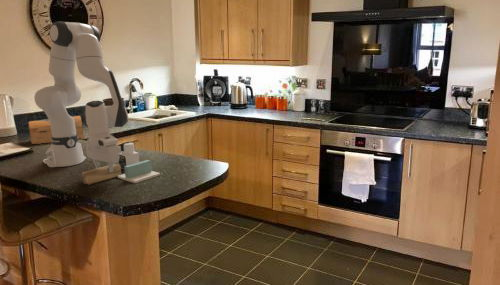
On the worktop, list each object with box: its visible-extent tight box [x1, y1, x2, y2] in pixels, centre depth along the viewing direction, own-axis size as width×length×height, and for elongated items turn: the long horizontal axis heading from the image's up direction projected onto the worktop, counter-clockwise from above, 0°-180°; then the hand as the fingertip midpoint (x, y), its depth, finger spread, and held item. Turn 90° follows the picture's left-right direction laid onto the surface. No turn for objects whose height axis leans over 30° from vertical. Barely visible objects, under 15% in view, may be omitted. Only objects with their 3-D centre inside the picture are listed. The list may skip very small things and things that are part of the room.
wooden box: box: [28, 115, 85, 145], centre depth 265 cm, size 30×16×14 cm, turn 117°
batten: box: [81, 162, 123, 186], centre depth 183 cm, size 4×16×5 cm, turn 139°
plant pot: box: [102, 97, 125, 106], centre depth 331 cm, size 16×16×16 cm
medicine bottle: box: [118, 141, 140, 171], centre depth 198 cm, size 7×7×12 cm
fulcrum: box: [117, 159, 161, 184], centre depth 184 cm, size 13×13×6 cm
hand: (104, 170), depth 183 cm, fingers open, 8 cm apart
